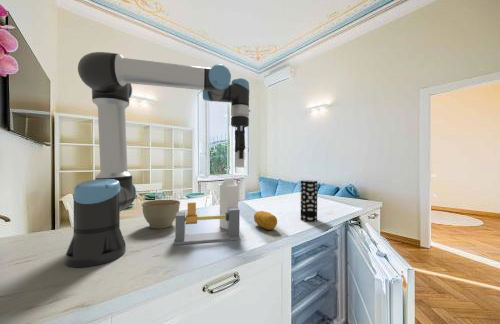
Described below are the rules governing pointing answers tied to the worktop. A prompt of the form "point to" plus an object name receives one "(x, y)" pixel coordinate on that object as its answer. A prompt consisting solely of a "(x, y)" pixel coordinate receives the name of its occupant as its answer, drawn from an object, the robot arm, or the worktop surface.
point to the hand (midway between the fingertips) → (239, 167)
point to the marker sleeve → (191, 214)
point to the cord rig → (231, 233)
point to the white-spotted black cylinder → (309, 201)
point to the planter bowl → (160, 212)
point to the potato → (265, 220)
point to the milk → (227, 198)
